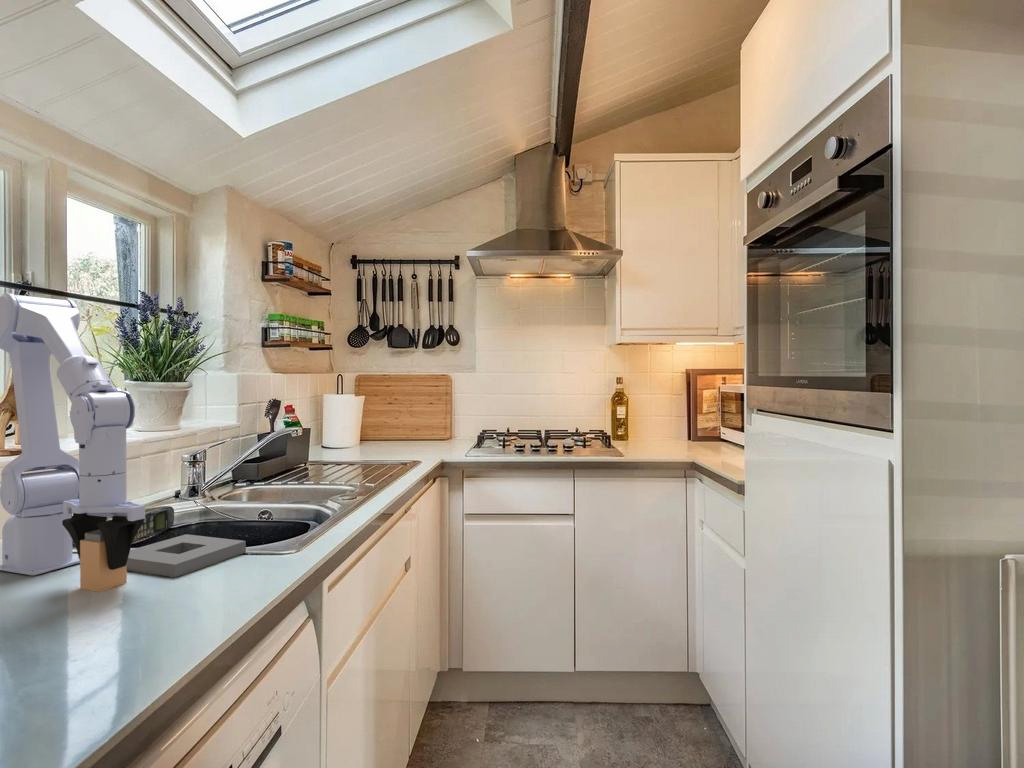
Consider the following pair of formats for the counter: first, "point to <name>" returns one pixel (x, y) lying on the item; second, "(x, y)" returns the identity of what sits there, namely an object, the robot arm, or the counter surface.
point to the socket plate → (182, 554)
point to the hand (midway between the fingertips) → (103, 565)
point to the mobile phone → (155, 522)
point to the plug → (98, 565)
